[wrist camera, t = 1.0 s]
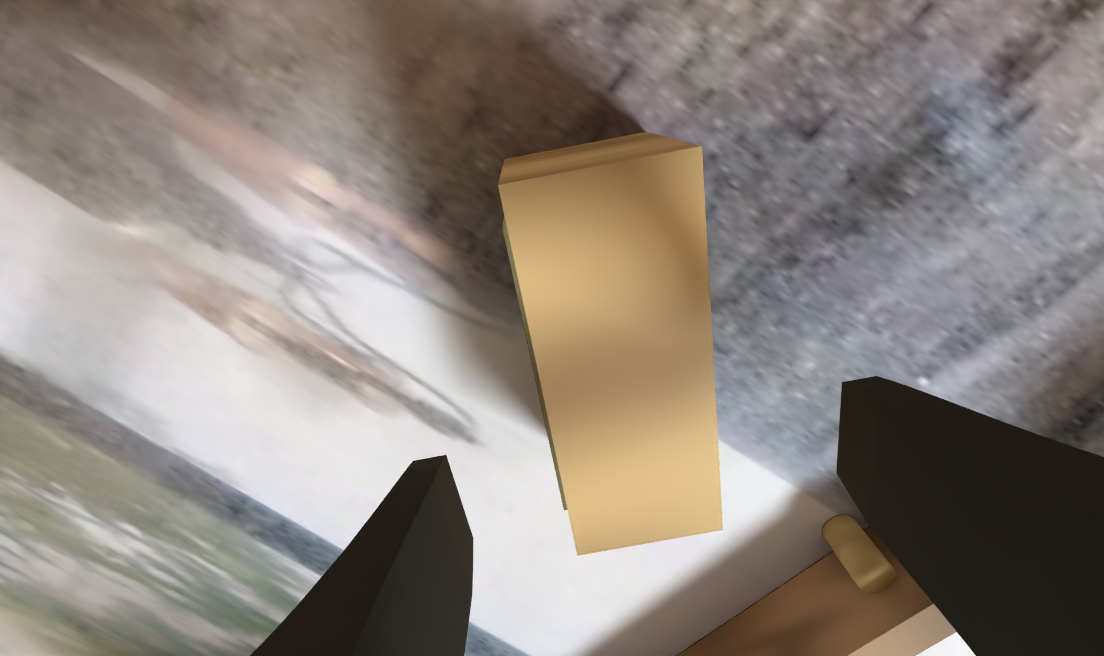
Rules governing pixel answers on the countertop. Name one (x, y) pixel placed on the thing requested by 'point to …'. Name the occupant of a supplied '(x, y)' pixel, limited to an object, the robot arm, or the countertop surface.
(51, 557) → the countertop surface
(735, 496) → the countertop surface
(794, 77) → the countertop surface
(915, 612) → the wall ledge
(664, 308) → the tan wooden block
